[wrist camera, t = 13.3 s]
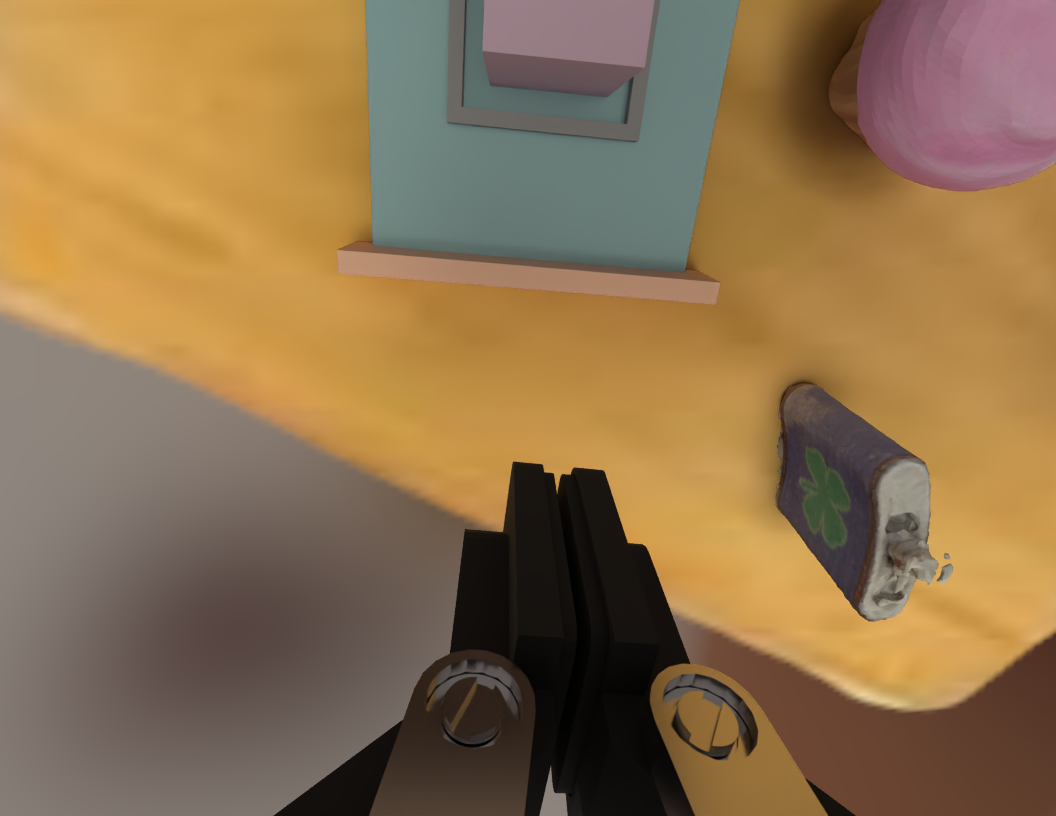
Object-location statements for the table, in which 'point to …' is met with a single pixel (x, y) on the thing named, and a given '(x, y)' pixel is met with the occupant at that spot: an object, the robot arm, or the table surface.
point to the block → (565, 44)
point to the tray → (538, 159)
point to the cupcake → (954, 90)
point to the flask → (855, 502)
